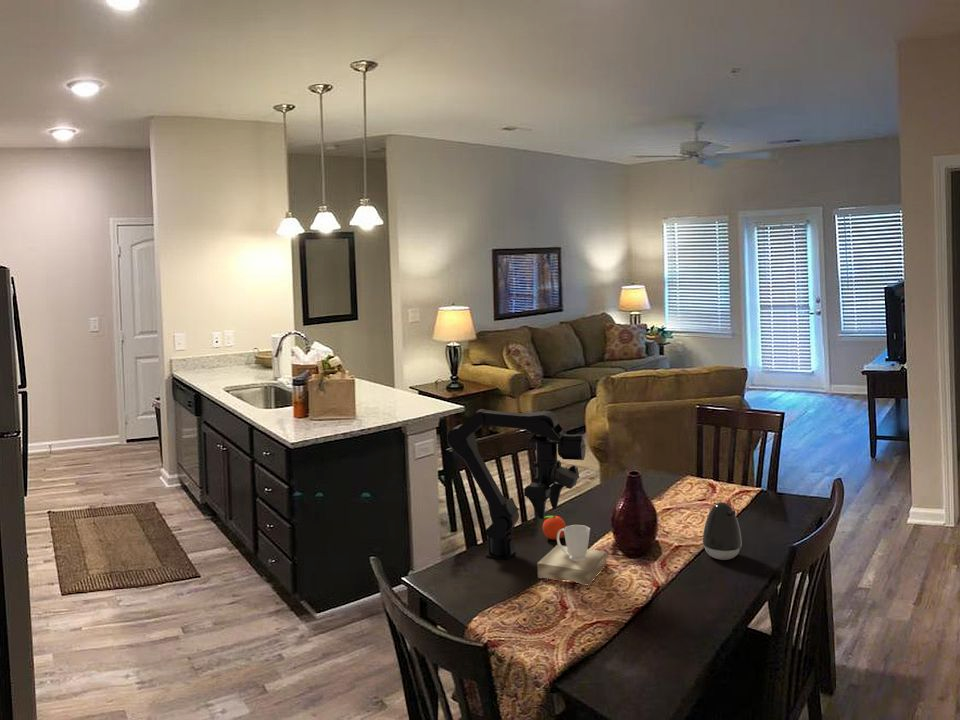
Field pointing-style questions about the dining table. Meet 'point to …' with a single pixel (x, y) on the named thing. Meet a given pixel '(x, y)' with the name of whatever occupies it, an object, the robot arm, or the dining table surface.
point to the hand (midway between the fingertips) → (548, 513)
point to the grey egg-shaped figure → (722, 532)
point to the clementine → (553, 527)
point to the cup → (575, 541)
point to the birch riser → (571, 566)
